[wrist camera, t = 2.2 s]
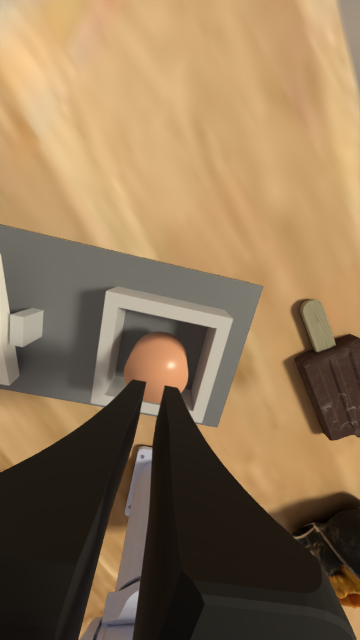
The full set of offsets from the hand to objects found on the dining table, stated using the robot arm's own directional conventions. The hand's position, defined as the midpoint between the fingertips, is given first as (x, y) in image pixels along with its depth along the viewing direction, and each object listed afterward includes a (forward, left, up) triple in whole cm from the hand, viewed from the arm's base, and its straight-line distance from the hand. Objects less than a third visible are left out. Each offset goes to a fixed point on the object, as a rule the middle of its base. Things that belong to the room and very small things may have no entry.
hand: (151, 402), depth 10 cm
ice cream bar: (0, -16, -10) cm, 19 cm away
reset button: (0, 0, -5) cm, 5 cm away
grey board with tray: (0, +6, -9) cm, 11 cm away
